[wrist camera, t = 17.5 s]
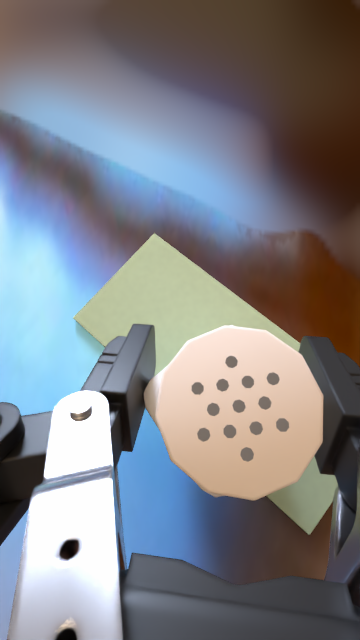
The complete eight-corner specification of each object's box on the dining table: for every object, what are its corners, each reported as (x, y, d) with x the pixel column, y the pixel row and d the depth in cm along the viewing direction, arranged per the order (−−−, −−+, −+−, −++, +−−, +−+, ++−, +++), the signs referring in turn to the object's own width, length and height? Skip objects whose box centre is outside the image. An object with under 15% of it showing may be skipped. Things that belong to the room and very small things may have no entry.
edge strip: (391, 413, 15) (393, 414, 15) (308, 533, 14) (309, 535, 13) (154, 234, 18) (154, 233, 18) (74, 318, 17) (72, 317, 17)
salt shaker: (221, 348, 15) (250, 268, 6) (274, 412, 14) (398, 429, 5) (159, 396, 15) (94, 385, 6) (209, 465, 14) (223, 584, 5)
